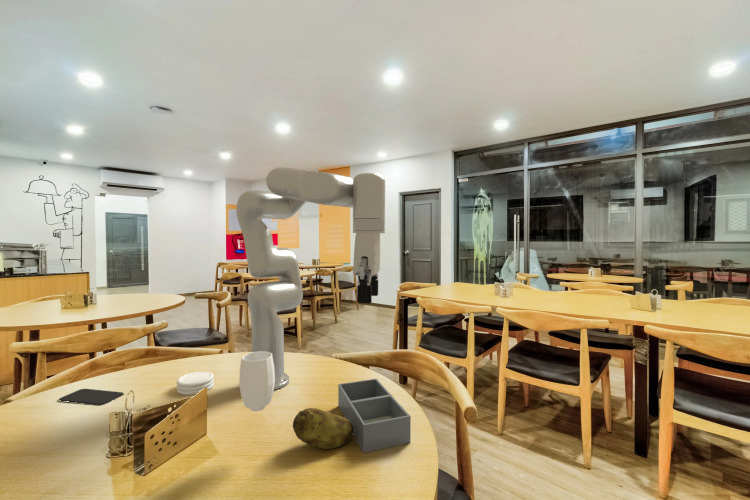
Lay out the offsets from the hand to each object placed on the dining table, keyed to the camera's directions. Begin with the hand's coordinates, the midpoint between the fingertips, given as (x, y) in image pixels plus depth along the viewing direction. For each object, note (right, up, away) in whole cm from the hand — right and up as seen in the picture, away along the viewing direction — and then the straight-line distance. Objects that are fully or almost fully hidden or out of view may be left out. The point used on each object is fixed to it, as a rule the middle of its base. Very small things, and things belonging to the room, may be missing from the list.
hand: (368, 299), depth 83 cm
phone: (-79, -31, +17) cm, 87 cm away
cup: (-23, -32, -9) cm, 40 cm away
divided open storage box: (+1, -31, +3) cm, 31 cm away
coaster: (-53, -31, +23) cm, 65 cm away
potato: (-10, -32, -6) cm, 34 cm away
